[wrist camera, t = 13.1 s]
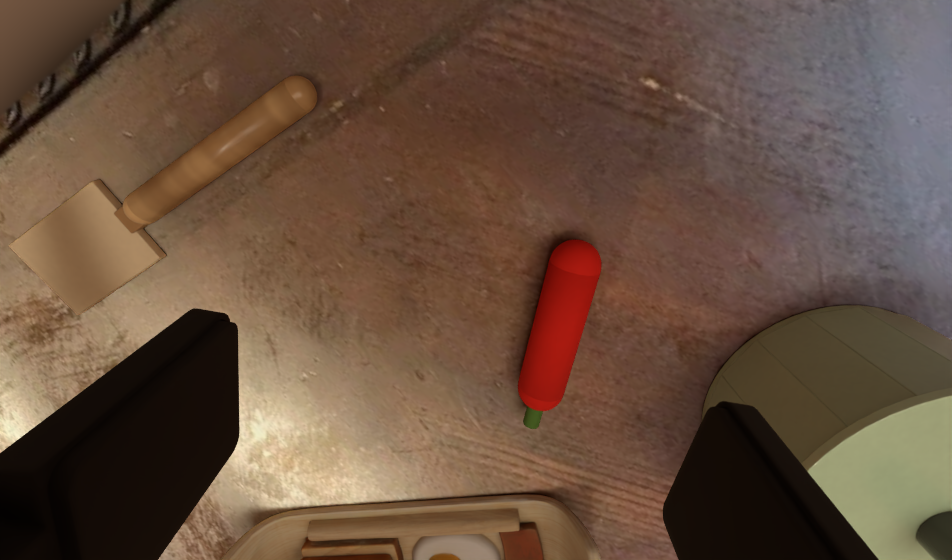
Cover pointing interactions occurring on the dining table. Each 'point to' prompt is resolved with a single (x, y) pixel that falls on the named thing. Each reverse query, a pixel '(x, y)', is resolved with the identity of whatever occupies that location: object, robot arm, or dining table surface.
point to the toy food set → (423, 532)
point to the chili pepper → (558, 326)
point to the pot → (832, 371)
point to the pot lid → (894, 477)
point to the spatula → (146, 205)
